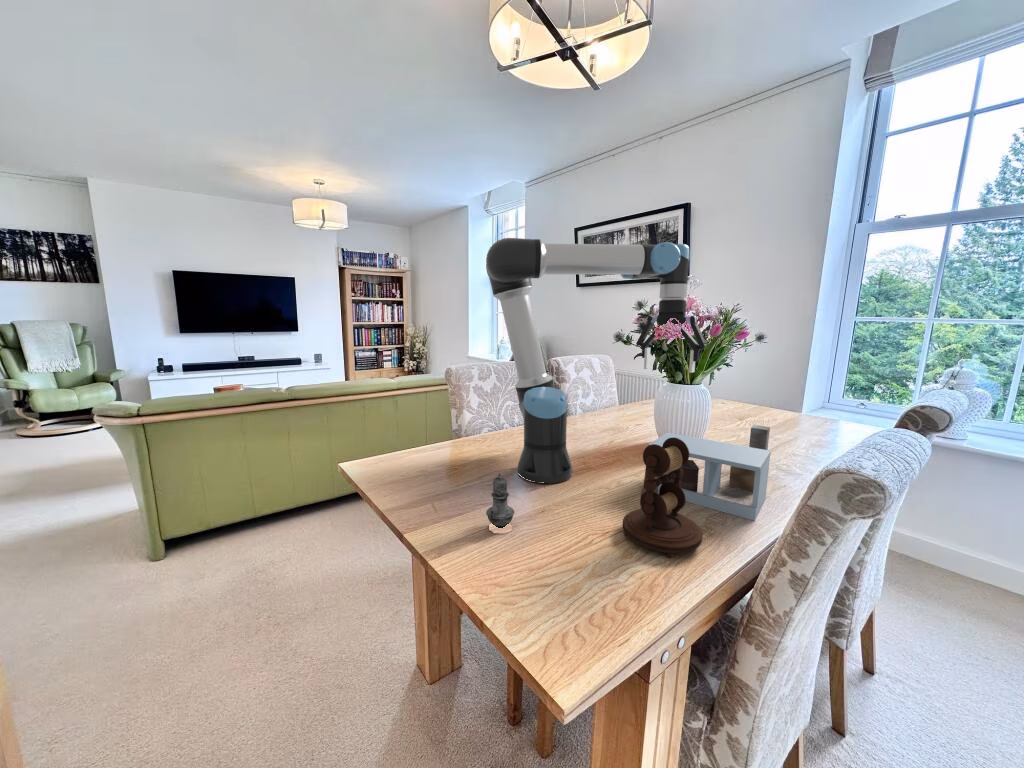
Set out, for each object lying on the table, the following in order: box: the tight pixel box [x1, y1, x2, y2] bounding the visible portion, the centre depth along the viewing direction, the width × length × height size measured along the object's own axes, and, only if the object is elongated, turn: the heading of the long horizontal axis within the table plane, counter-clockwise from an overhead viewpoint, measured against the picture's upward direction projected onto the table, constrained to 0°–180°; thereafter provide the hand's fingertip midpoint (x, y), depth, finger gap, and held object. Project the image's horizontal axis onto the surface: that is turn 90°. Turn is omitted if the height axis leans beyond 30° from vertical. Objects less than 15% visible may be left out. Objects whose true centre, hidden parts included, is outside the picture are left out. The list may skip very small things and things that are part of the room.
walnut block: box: [728, 424, 771, 493], centre depth 109 cm, size 6×21×12 cm, turn 140°
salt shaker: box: [485, 473, 515, 528], centre depth 84 cm, size 6×6×12 cm
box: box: [668, 459, 700, 493], centre depth 101 cm, size 6×6×7 cm
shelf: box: [647, 432, 772, 522], centre depth 99 cm, size 24×14×12 cm, turn 50°
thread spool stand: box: [622, 438, 703, 559], centre depth 79 cm, size 15×15×20 cm
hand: (668, 370), depth 124 cm, fingers open, 13 cm apart
